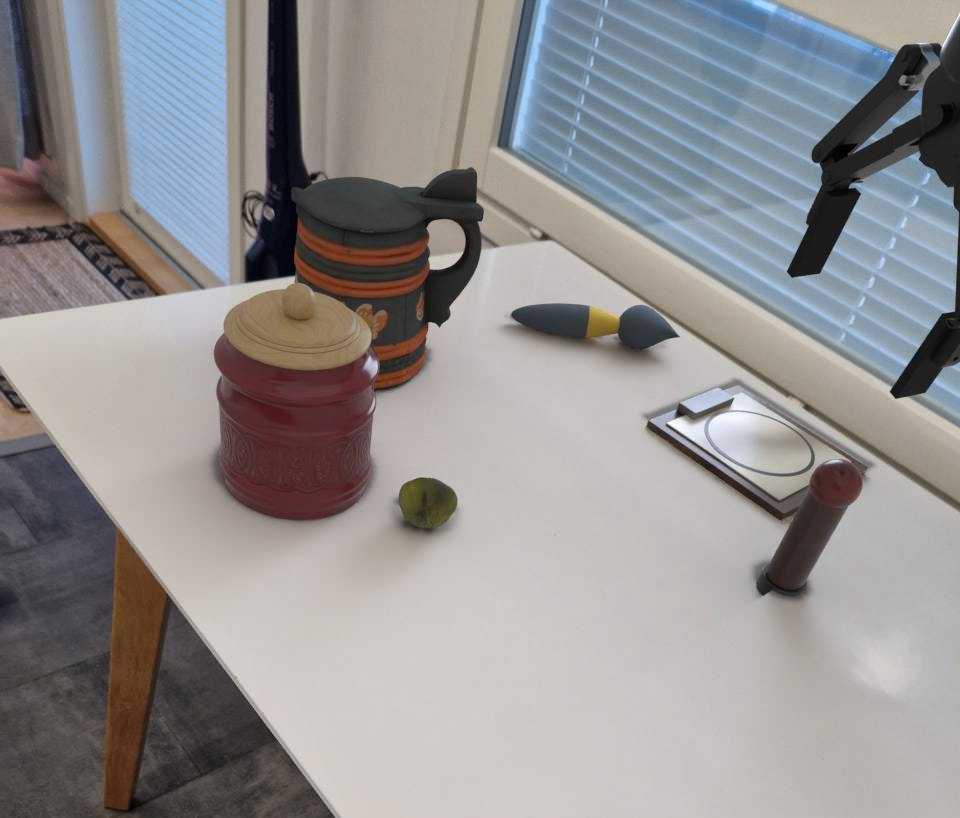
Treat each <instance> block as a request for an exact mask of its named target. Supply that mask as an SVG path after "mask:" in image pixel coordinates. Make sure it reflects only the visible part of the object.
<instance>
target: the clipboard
mask: <svg viewBox="0 0 960 818" xmlns="http://www.w3.org/2000/svg"><path fill="white" fill-rule="evenodd" d="M645 427H646V428H648V429H649V430H650V431H652V432H654V433H655V434H656V435H658V436H660V437H661V438H662V439H664V440H665V441H666V442H668V443H669V444H671V445H672V446H674V447H675V448H677V449H678V450H679V451H681V452H682V453H683V454H685V455H687V456H688V457H689V458H691V459H692V460H693V461H695V462H696V463H699V465H700V466H702V467H704V468H705V469H707V470H708V471H710V472H711V473H713V474H714V475H715V476H717V477H718V478H720V479H721V480H722V481H724V482H725V483H727V484H728V485H730V487H732V488H734V489H736V490H737V491H738V492H740V493H741V494H742V495H744V496H745V497H747V498H748V499H750V500H751V501H753V502H754V503H756V504H757V505H758V506H760V507H761V508H763V509H764V510H766V511H767V512H769V513H770V514H772V515H773V516H774V517H776V518H777V519H779V520H780V521H782V520H784V519H786V518H788V517H790V516H791V515H793V514H796V512H797V510H798V508H799V506H800V504H801V502H802V500H803V498H804V497H805V495H806V493H807V491H808V489H809V481H810V477H811V475H812V473H813V471H814V470H815V469H816V468H817V467H818V466H819V465H820V464H822V463H823V462H826V461H828V460H832V459H843V460H847V461H849V462H851V463H853V464H854V465H855V466H856V467H857V468H858V469H859V471H860V473H861V475H865V474H866V472H867V471H868V469H869V466H867V465H865V464H864V463H863V462H860V461H859V460H858V459H856V458H854V457H853V456H851V455H850V454H848V453H847V452H845V451H843V450H841V448H838V447H837V446H835V445H833V444H832V443H830V442H829V441H827V440H825V438H822V437H821V436H819V435H818V434H816V433H814V432H813V431H811V430H809V429H808V428H807V427H804V426H803V425H802V424H800V423H799V422H797V421H796V420H794V419H792V418H791V417H789V416H788V415H786V414H784V413H783V412H781V411H779V410H778V409H776V408H775V407H773V406H771V405H770V404H768V403H767V402H765V401H764V400H762V399H760V398H759V397H757V396H755V395H754V394H752V393H750V392H749V391H747V390H746V389H744V388H743V387H741V386H739V384H736V385H733V386H731V387H729V388H726V389H724V390H723V389H721V388H720V387H715V388H713V389H710V390H707V391H705V392H703V393H701V394H700V393H699V394H698V395H695V396H692V397H689V398H687V399H684V400H682V401H680V402H679V403H678V405H677V408H676V409H673V410H671V411H668V412H666V413H663V414H660V415H658V416H655V417H654V418H650V419H648V420H647V423H646V426H645Z"/></svg>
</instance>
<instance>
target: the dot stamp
mask: <svg viewBox="0 0 960 818" xmlns="http://www.w3.org/2000/svg"><path fill="white" fill-rule="evenodd" d="M862 475H863V474H862ZM862 475H861V473H860V471H859V469H858V468H857V467H856V466H855V465H854V464H853V463H851V462H849V461H847V460H843V459H832V460H828V461H826V462H823V463H822V464H820V465H819V466H818V467H817V468H816V469H815V470H814V471H813V473H812V475H811V477H810V481H809V489H808V491H807V493H806V495H805V497H804V498H803V500H802V502H801V504H800V506H799V508H798V510H797V511H796V512H795V513H794V515H793V518H792V519H791V522H790V523H789V525H788V528H786V531H785V533H784V535H783V537H782V538H781V540H780V543H779V544H778V546H777V549H776V551H775V552H774V554H773V556H772V558H771V560H770V562H769V563H767V564H766V565H764V566H763V568H762V570H761V572H760V574H759V576H758V577H757V579H756V585H755V586H756V589H757V591H758V592H759V594H761V596H762V597H764V596H766V595H767V594H768V593H770V592H772V591H773V592H775V593H777V594H779V595H782V596H785V597H797V596H800V595H802V594H804V592H805V590H806V589H807V586H808V585H807V584H808V583H807V580H808V578H809V576H810V574H811V573H812V572H813V569H814V568H815V566H816V564H817V562H818V561H819V559H820V557H821V555H822V554H823V552H824V550H825V548H826V547H827V546H828V543H829V541H830V540H831V538H832V537H833V535H834V533H835V531H836V529H837V527H838V525H839V524H840V522H841V520H842V518H843V517H844V515H845V514H846V511H847V510H848V508H849V506H851V505H853V503H855V502H856V501H857V499H858V498H859V497H860V495H861V492H862V490H863V485H864V484H863V483H864V481H863V476H862Z"/></svg>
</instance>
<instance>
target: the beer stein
mask: <svg viewBox="0 0 960 818" xmlns="http://www.w3.org/2000/svg"><path fill="white" fill-rule="evenodd" d="M477 193H478V172H477V170H476V169H475V168H474V167H472V166H470V167H468V168H459V169H458V168H455V169H450V170H446V171H443V172H442V173H440V174H438V175H436V176H435V177H433V178H432V179H431V180H430V181H429V182H428V183H427V185H426V186H425V187H421V186H402V187H400V186H398V185H396V184H393V183H389V182H387V181H383V180H378V179H374V178H370V177H364V176H343V177H335V178H328V179H324V180H319V181H317V182H314V183H312V184H309V185H308V186H306V187H305V188H304V189H303V188H300V187H296V186H294V187H292V188H291V190H290V196H291V197H290V198H291V201H292V202H294V203H295V204H296V206H295V212H296V215H297V216H298V217H297V231H296V239H295V246H294V254H293V255H294V256H293V260H294V265H295V274H294V283H302V284H305V285H307V286H309V287H310V288H311V289H312V290H313V292H317V293H321V294H324V295H327V296H329V297H332V298H334V299H336V300H338V301H339V302H341V303H342V304H344V305H345V306H346V307H347V308H349V309H350V310H352V311H354V312H355V313H356V314H358V315H359V316H360V317H361V318H362V319H363V320H364V321H365V322H366V323H367V325H368V326H369V329H370V331H371V344H370V345H371V346H372V347H373V348H374V350H375V351H376V353H377V355H378V358H379V362H380V369H379V374H378V376H377V378H376V380H375V381H374V383H373V384H372V387H373V389H374V390H377V389H386V388H390V387H393V386H397V385H402V384H403V383H405V382H408V381H409V380H411V379H412V378H414V377H415V376H416V375H417V374H418V373H419V372H420V370H421V368H422V366H423V364H424V362H425V360H426V357H427V356H426V355H427V354H426V353H427V352H426V351H427V350H426V349H427V348H426V344H427V335H428V332H429V324H430V323H433V324H435V325H436V326H437V327H438V328H439V329H441V327H442V325H443V324H444V323H446V322H447V321H448V320H450V317H451V315H452V313H451V309H450V307H451V306H452V305H453V304H454V302H455V301H456V300H457V299H458V298H459V296H460V295H461V294H462V293H463V291H464V290H465V289H466V287H467V286H468V284H470V282H471V280H472V278H473V276H474V274H475V272H476V270H477V269H478V265H479V262H480V260H481V255H482V248H483V247H482V245H483V241H482V239H483V238H482V232H481V226H480V223H482V222H483V221H484V214H485V213H484V212H485V209H484V208H485V207H483V206H482V205H481V204H480V203H478V195H477ZM440 220H449V221H452V222H455V223H456V224H457V225H459V227H460V228H461V230H462V232H463V234H464V239H465V240H464V241H465V243H464V248H463V252H462V254H461V256H460V257H459V259H458V260H457V261H456V262H454V264H452V265H450V266H447V267H445V268H441V269H440V268H439V269H434V268H433V269H431V263H430V260H429V259H430V256H431V249H430V246H429V245H428V244H429V241H430V239H431V237H430V236H431V235H430V233H429V230H428V226H429V225H430V224H431V223H432V222H434V221H440Z"/></svg>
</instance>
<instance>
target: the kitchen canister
mask: <svg viewBox="0 0 960 818" xmlns="http://www.w3.org/2000/svg"><path fill="white" fill-rule="evenodd" d="M370 344H371V331H370V329H369V326H368V325H367V323H366V322H365V321H364V320H363V319H362V318H361V317H360V316H359V315H358V314H356V313H355V312H354V311H352V310H350V309H349V308H347V307H346V306H345V305H344V304H342V303H341V302H339V301H338V300H336V299H334V298H332V297H329V296H327V295H324V294H321V293H317V292H313V290H312V289H311V288H310V287H309V286H307V285H305V284H302V283H295V282H294V283H291V284H289V285H288V286H287V287H286V288H280V289H279V288H278V289H272V290H267V291H263V292H260V293H257V294H256V295H253V296H252V297H250V298H248V299H246V300H244V301H242V302H241V301H240V302H239V303H238V304H236V305H235V306H233V307H232V308H231V309H230V310H229V311H228V312H227V313H226V315H225V317H224V320H223V333H222V334H221V335H220V336H219V338H218V339H217V340H216V343H215V344H214V348H213V359H214V363H215V365H216V368H217V369H218V371H219V372H220V374H221V375H220V376H219V377H218V379H217V382H216V388H215V395H216V399H217V403H218V411H219V412H218V414H219V430H220V431H219V432H220V433H219V434H220V445H219V452H218V455H219V466H220V470H221V474H222V475H223V479H224V483H225V485H226V487H227V489H228V490H229V492H230V493H231V494H232V495H233V496H234V497H235V499H236V500H238V501H239V502H241V503H242V504H244V505H245V506H246V507H249V508H250V509H252V510H254V511H257V512H260V513H262V514H265V515H269V516H272V517H276V518H281V519H289V520H290V519H291V520H311V519H319V518H320V519H321V518H325V517H328V516H333V515H335V514H338V513H341V512H343V511H345V510H347V509H349V508H350V507H351V506H352V505H354V504H355V503H356V502H358V500H359V499H360V498H361V496H362V495H363V494H364V493H365V490H366V487H367V483H368V481H369V479H370V476H371V471H372V468H371V467H372V454H371V448H372V447H371V446H372V435H373V424H374V423H373V422H374V413H375V411H376V408H377V395H376V391H375V389H373V387H372V384H373V383H374V381H375V380H376V378H377V376H378V374H379V369H380V362H379V358H378V355H377V353H376V351H375V350H374V348H373V347H372V346H371V345H370Z"/></svg>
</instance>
